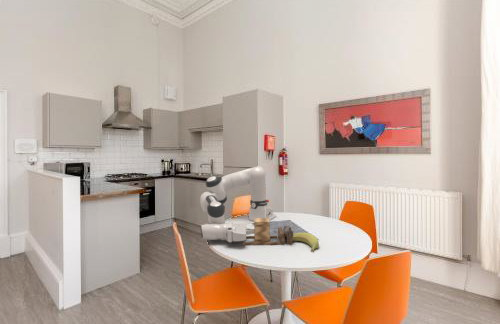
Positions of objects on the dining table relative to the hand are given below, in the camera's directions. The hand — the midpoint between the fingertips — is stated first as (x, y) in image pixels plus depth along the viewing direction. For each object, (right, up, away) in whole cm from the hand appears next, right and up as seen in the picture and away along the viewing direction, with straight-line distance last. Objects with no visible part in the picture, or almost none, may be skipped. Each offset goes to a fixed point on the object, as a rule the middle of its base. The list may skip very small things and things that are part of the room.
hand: (254, 231), depth 146 cm
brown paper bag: (+4, -6, +1) cm, 7 cm away
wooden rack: (+7, -6, 0) cm, 9 cm away
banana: (+26, -6, -6) cm, 28 cm away
